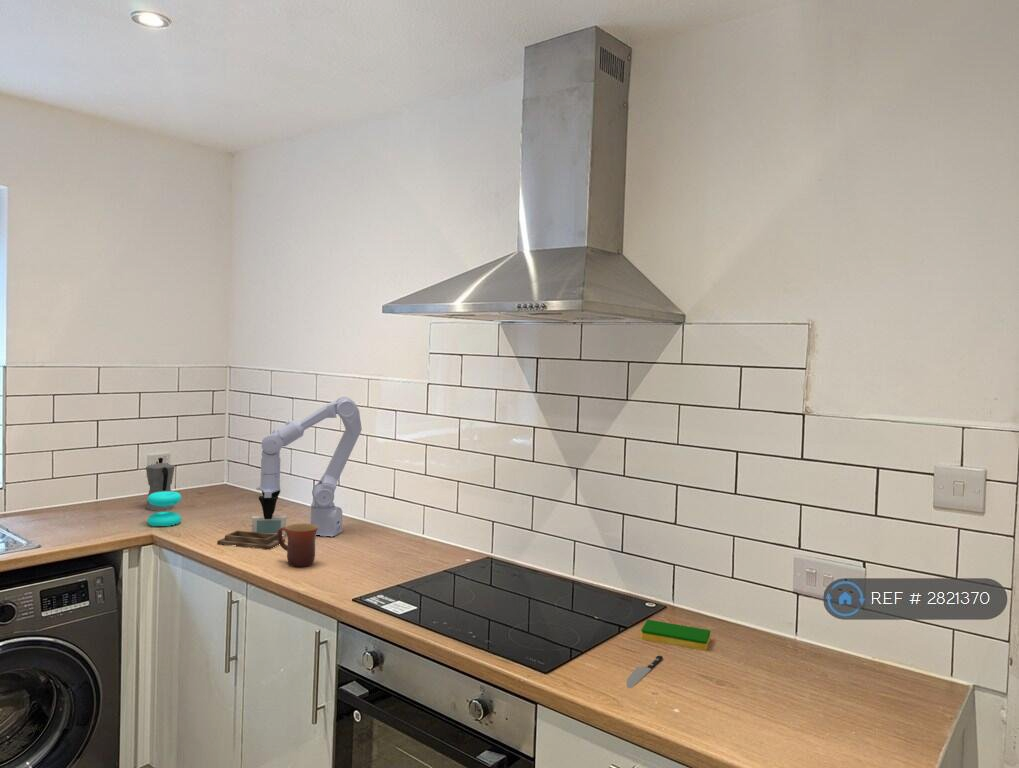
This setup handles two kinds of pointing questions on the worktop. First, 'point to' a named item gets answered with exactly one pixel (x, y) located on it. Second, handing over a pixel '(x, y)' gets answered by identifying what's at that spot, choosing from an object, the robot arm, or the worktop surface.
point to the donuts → (166, 516)
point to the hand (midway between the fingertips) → (269, 516)
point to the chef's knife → (641, 672)
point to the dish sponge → (676, 634)
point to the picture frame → (268, 524)
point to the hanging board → (250, 539)
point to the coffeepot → (159, 481)
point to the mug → (299, 543)
